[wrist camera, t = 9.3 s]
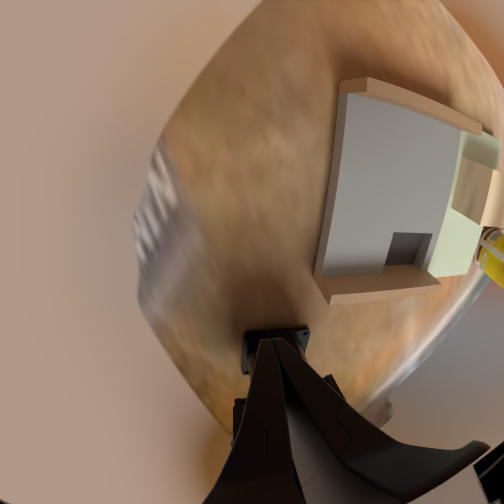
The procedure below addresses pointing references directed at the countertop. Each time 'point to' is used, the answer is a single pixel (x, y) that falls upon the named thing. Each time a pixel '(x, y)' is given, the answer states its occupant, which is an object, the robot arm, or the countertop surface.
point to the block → (480, 194)
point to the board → (396, 195)
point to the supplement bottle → (491, 255)
